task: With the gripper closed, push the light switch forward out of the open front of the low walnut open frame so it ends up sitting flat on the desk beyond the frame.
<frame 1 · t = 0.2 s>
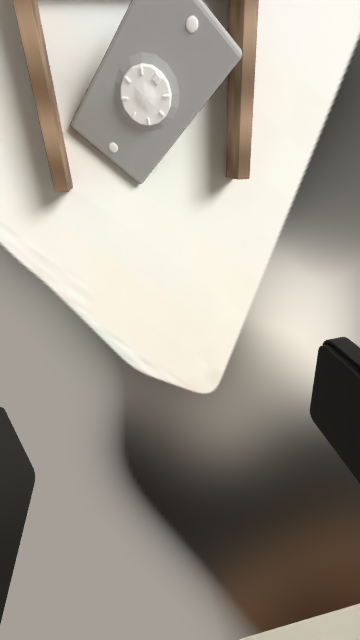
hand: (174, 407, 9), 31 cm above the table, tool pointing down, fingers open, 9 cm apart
walnut open frame: (144, 92, 31), on the table
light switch: (144, 99, 31), on the table
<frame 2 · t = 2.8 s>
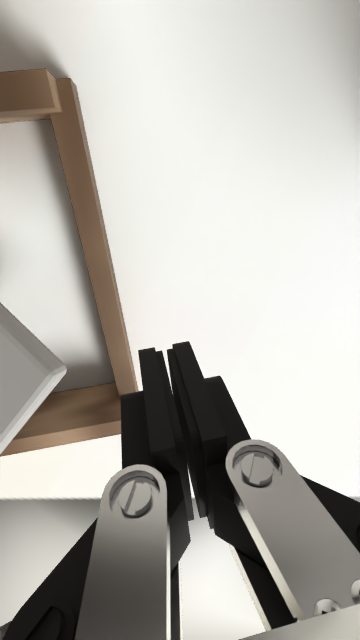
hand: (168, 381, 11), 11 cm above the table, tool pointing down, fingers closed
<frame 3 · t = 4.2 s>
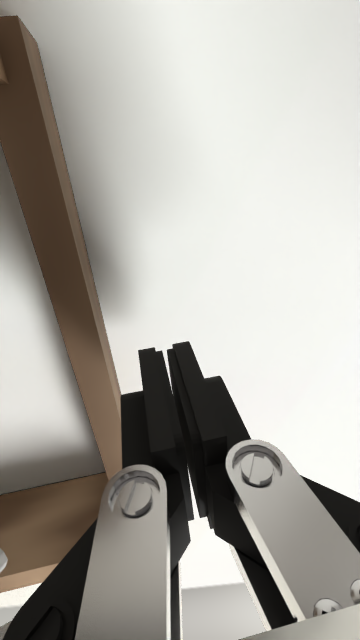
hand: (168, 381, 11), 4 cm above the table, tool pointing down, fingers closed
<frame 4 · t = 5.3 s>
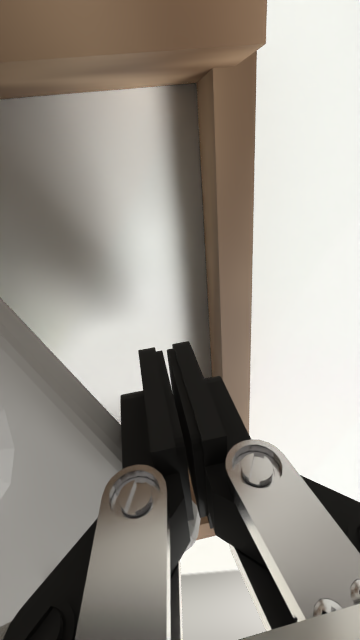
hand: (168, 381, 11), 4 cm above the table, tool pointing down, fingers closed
walnut open frame: (36, 345, 13), on the table
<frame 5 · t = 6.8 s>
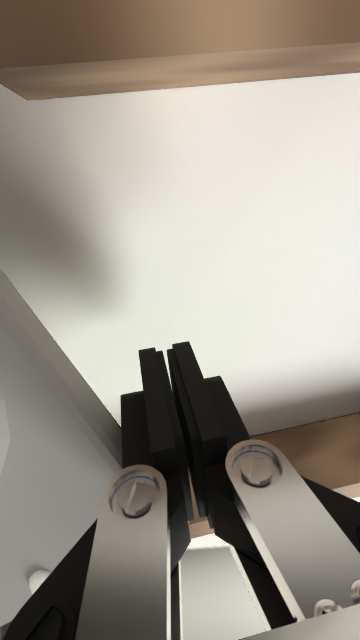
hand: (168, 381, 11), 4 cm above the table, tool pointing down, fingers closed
walnut open frame: (268, 306, 15), on the table
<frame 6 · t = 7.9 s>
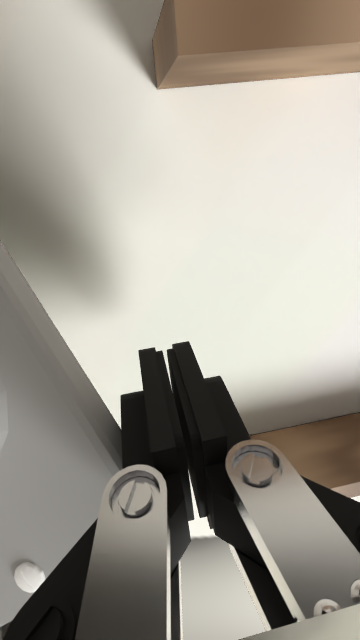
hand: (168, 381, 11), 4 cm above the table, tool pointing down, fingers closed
walnut open frame: (347, 292, 15), on the table
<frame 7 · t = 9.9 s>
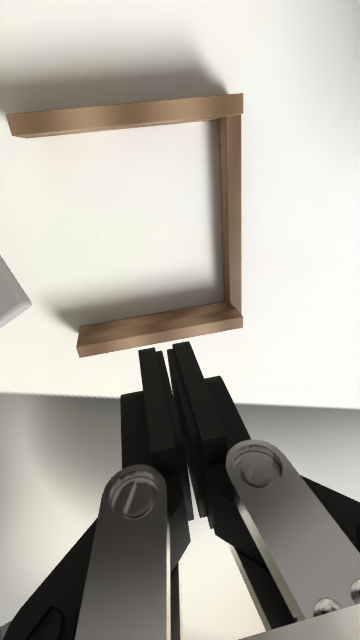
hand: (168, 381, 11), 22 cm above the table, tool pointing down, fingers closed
walnut open frame: (145, 233, 30), on the table
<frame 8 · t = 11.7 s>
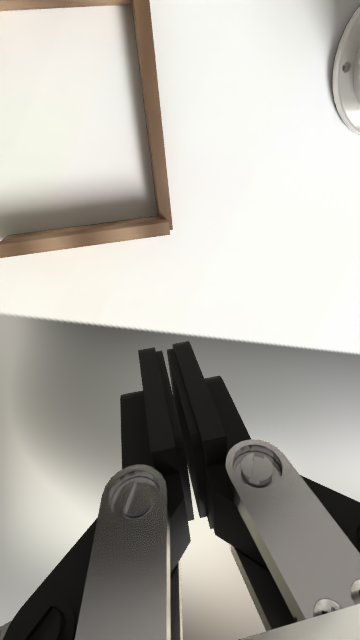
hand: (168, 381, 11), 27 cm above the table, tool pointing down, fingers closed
walnut open frame: (66, 132, 29), on the table
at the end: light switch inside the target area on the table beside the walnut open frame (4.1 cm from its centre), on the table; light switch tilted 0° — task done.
